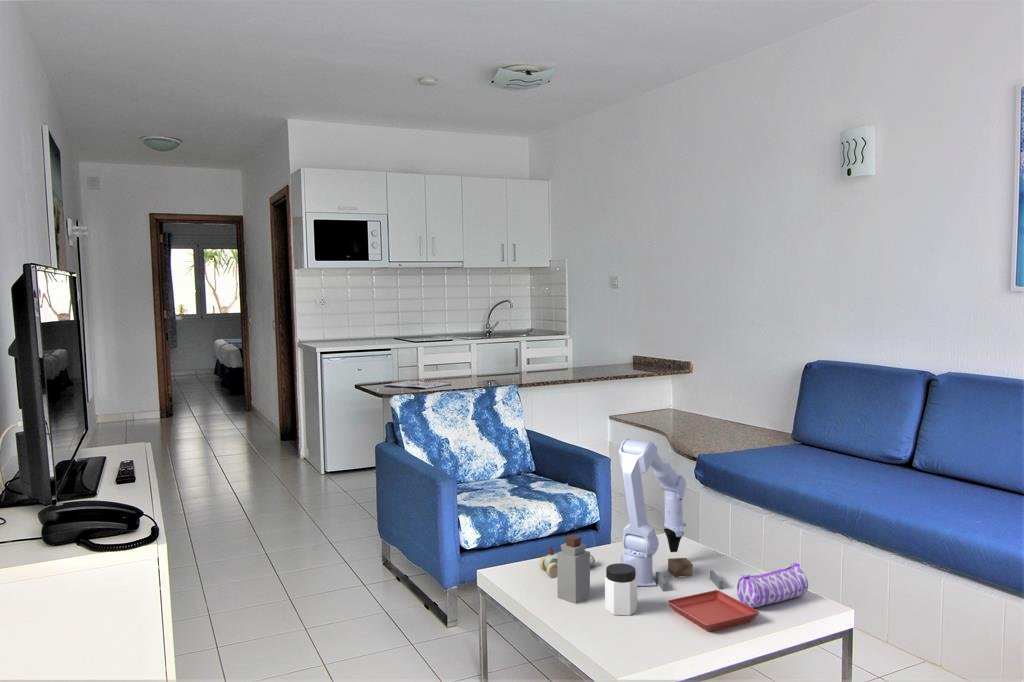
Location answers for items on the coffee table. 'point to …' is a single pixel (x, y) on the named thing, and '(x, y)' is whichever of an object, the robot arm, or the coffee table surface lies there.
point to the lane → (713, 577)
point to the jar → (620, 589)
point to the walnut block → (680, 567)
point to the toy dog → (555, 563)
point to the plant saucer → (713, 610)
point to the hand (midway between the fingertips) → (673, 551)
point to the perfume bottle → (573, 571)
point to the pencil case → (772, 586)
